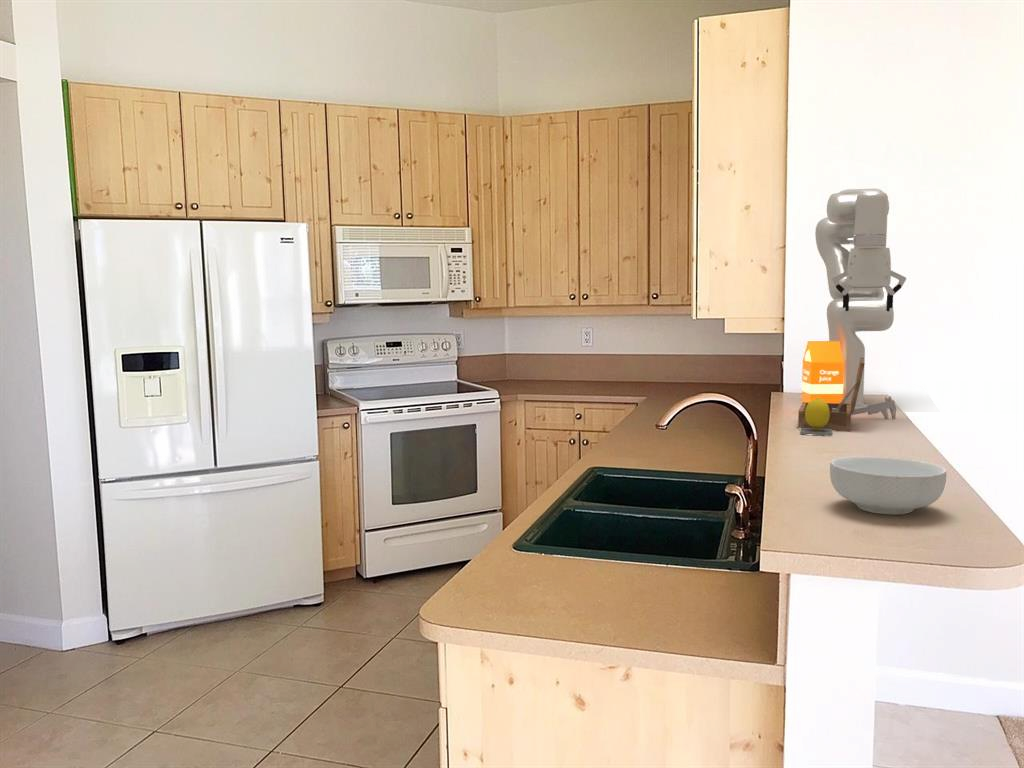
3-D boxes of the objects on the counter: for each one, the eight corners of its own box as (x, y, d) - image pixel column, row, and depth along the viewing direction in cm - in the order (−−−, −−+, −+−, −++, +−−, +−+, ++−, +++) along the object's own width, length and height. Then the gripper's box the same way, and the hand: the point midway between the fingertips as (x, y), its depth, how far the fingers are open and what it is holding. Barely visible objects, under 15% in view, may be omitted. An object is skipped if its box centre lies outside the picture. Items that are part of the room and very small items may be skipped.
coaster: (801, 430, 215) (801, 427, 215) (832, 431, 213) (832, 429, 213) (800, 434, 209) (800, 432, 209) (831, 436, 206) (831, 433, 206)
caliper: (894, 419, 233) (894, 396, 232) (895, 420, 232) (896, 396, 231) (815, 420, 233) (816, 396, 233) (816, 420, 232) (817, 396, 232)
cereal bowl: (959, 524, 128) (961, 477, 128) (839, 520, 131) (841, 474, 131) (926, 498, 145) (928, 455, 144) (820, 495, 148) (821, 453, 147)
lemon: (823, 433, 207) (824, 399, 206) (800, 430, 211) (801, 397, 210) (833, 430, 211) (834, 396, 210) (810, 427, 215) (811, 395, 214)
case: (802, 418, 234) (803, 356, 232) (861, 421, 228) (863, 357, 227) (798, 429, 217) (799, 361, 215) (862, 432, 211) (864, 363, 210)
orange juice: (842, 415, 239) (844, 341, 237) (809, 415, 239) (811, 342, 237) (832, 411, 247) (834, 340, 245) (800, 411, 247) (802, 340, 245)
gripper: (832, 243, 221) (830, 311, 223) (908, 241, 214) (905, 312, 217) (834, 243, 228) (831, 309, 230) (907, 241, 221) (904, 310, 224)
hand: (867, 310), depth 223 cm, fingers open, 9 cm apart
